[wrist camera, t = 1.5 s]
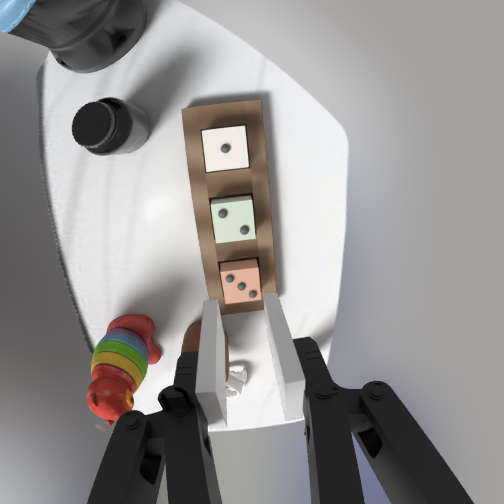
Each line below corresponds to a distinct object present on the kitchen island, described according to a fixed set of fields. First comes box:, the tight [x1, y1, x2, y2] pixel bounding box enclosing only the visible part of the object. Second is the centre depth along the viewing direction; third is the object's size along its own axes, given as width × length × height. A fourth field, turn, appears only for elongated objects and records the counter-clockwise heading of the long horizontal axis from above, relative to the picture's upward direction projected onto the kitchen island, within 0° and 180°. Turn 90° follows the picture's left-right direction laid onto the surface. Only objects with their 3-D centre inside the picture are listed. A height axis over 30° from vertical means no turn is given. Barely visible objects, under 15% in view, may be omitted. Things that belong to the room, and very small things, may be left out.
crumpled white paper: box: [226, 369, 247, 398], centre depth 48 cm, size 8×7×5 cm
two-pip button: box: [211, 195, 256, 243], centre depth 35 cm, size 5×5×3 cm
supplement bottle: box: [72, 97, 150, 156], centre depth 27 cm, size 7×7×12 cm
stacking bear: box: [86, 315, 161, 425], centre depth 37 cm, size 11×10×18 cm
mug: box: [181, 322, 229, 382], centre depth 42 cm, size 12×8×9 cm, turn 10°
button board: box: [181, 100, 276, 315], centre depth 37 cm, size 30×10×2 cm, turn 5°
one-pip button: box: [202, 126, 249, 172], centre depth 32 cm, size 5×5×3 cm
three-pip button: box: [220, 259, 261, 304], centre depth 39 cm, size 5×5×3 cm
